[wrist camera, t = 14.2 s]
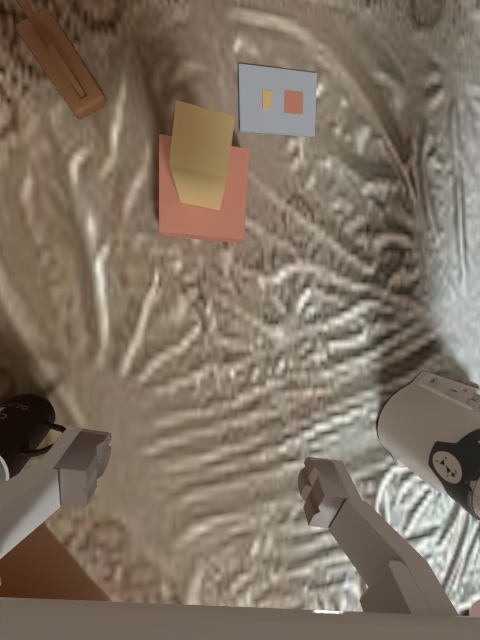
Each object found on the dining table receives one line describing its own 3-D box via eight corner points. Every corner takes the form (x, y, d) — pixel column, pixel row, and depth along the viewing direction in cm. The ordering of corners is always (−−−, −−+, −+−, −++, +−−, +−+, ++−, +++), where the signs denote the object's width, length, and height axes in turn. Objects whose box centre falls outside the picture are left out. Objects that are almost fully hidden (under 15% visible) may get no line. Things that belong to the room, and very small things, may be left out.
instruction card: (315, 75, 30) (317, 72, 30) (313, 137, 32) (315, 135, 31) (238, 65, 29) (238, 62, 28) (239, 131, 30) (240, 129, 30)
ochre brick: (225, 169, 27) (235, 116, 18) (219, 210, 28) (226, 178, 19) (185, 160, 26) (175, 99, 18) (180, 202, 27) (169, 164, 18)
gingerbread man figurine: (19, 33, 25) (-139, -179, 13) (51, 14, 25) (-76, -212, 13) (79, 120, 27) (-10, 5, 15) (108, 103, 27) (42, -25, 16)
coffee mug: (-15, 438, 32) (-109, 510, 22) (-2, 379, 31) (-94, 428, 21) (79, 453, 34) (32, 523, 25) (94, 399, 33) (52, 451, 24)
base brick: (243, 164, 31) (249, 149, 27) (238, 243, 33) (244, 239, 29) (164, 152, 29) (159, 133, 26) (163, 236, 31) (158, 231, 27)
